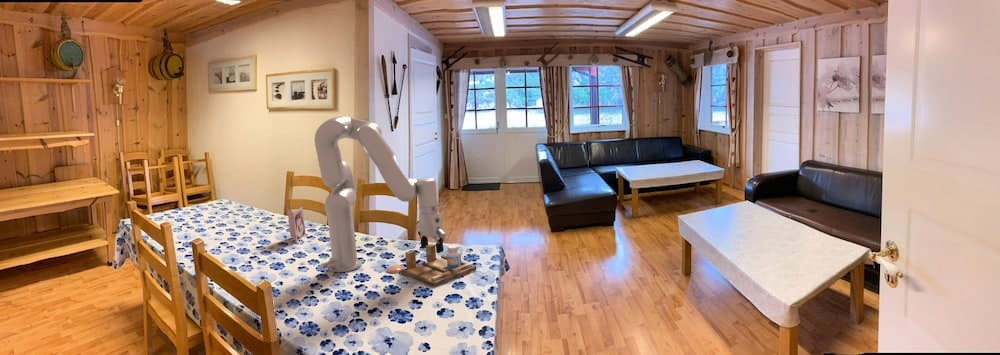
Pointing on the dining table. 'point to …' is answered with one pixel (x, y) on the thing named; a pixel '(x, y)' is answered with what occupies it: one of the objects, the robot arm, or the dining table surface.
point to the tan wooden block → (412, 264)
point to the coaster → (395, 269)
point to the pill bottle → (453, 257)
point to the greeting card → (296, 224)
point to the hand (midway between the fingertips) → (432, 249)
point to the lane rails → (438, 274)
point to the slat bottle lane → (441, 260)
